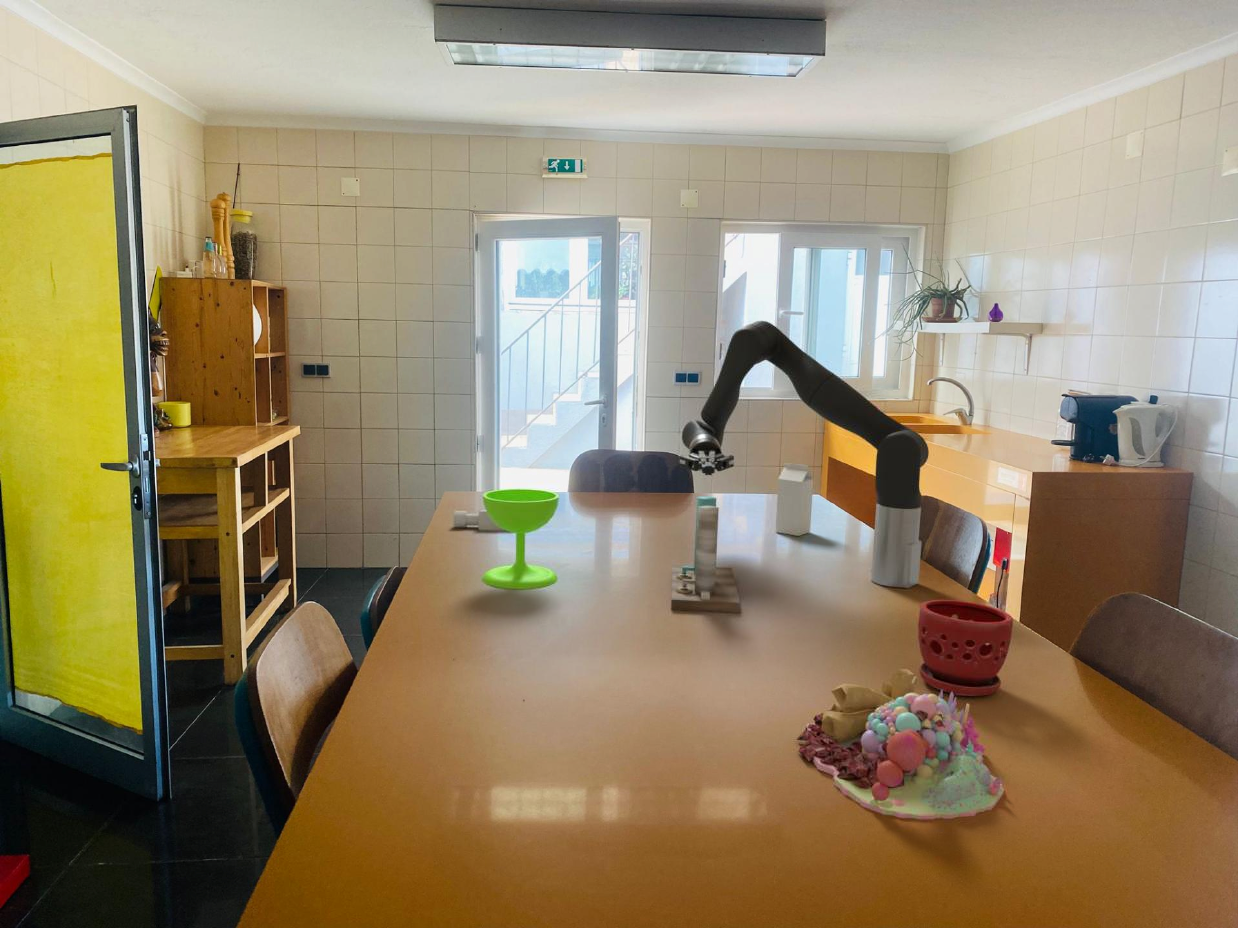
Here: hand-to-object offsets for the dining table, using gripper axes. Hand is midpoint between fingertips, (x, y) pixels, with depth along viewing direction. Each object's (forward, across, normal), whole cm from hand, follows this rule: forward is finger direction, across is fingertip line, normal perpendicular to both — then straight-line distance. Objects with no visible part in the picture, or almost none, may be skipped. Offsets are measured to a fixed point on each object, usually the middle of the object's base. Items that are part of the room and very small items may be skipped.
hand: (708, 470), depth 189 cm
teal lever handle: (+14, +3, -19) cm, 24 cm away
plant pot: (+62, -36, -17) cm, 73 cm away
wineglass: (+13, +40, -21) cm, 47 cm away
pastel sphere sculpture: (+88, -20, -14) cm, 91 cm away
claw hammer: (-47, +56, -28) cm, 78 cm away
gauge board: (+18, +2, -21) cm, 28 cm away
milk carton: (-44, -26, -29) cm, 58 cm away
